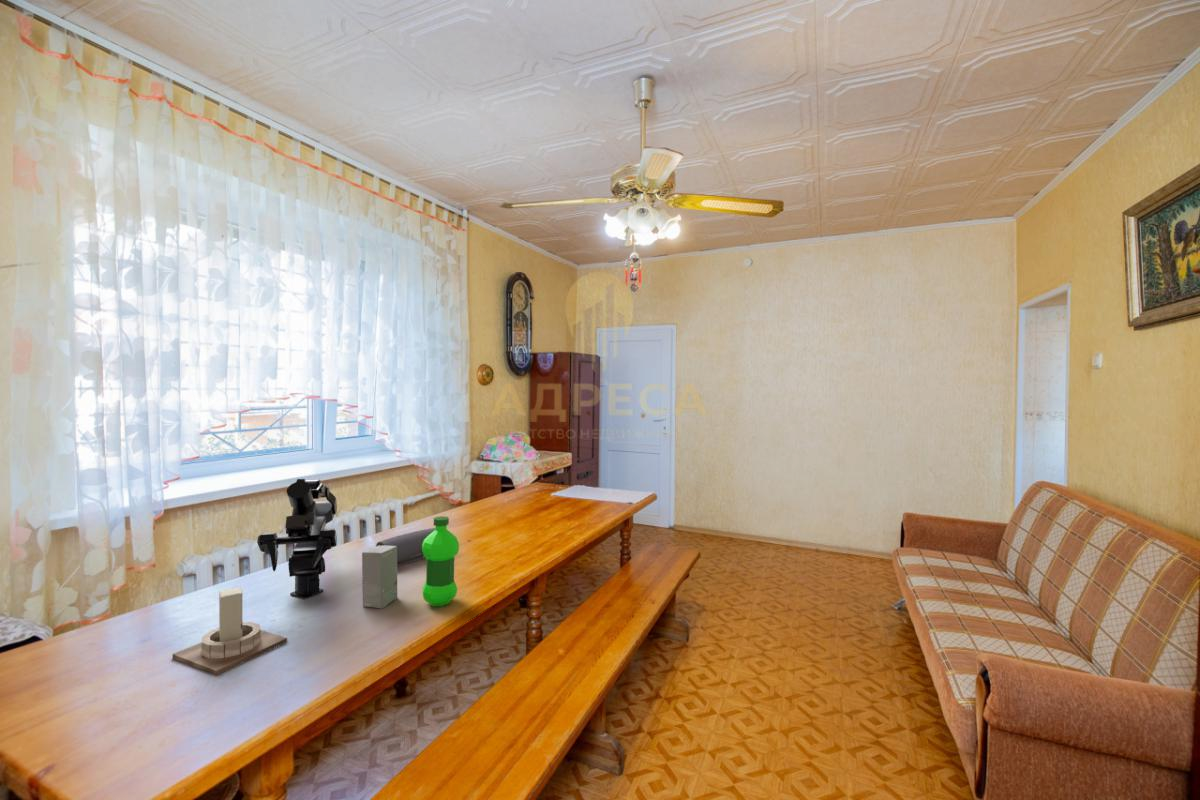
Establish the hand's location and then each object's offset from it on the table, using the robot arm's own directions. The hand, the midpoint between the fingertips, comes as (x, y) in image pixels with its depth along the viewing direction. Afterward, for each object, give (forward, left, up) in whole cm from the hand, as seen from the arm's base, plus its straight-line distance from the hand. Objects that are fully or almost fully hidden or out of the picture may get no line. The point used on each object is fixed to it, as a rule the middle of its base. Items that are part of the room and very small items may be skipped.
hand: (293, 568), depth 137 cm
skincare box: (+12, +18, -14) cm, 26 cm away
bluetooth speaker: (-6, +49, -14) cm, 51 cm away
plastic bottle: (+28, +25, -14) cm, 40 cm away
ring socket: (+2, -17, -14) cm, 22 cm away
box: (+2, -17, -13) cm, 21 cm away
